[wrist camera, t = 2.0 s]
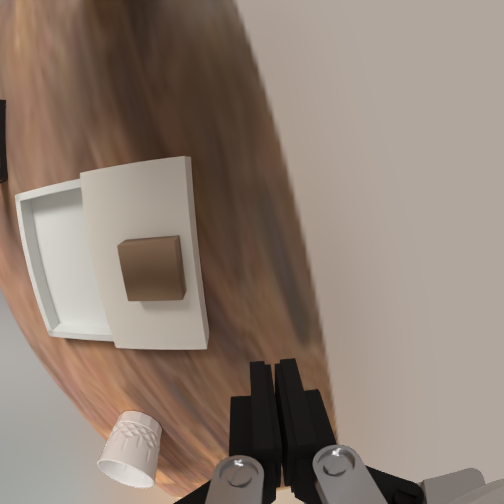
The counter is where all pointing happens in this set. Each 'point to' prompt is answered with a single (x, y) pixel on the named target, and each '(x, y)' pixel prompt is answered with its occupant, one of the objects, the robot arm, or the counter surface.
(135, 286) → the walnut tile
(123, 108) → the counter surface
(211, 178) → the counter surface
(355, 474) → the robot arm
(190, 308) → the platform
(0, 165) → the ammunition clip
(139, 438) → the white cup
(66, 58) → the counter surface
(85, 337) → the box
